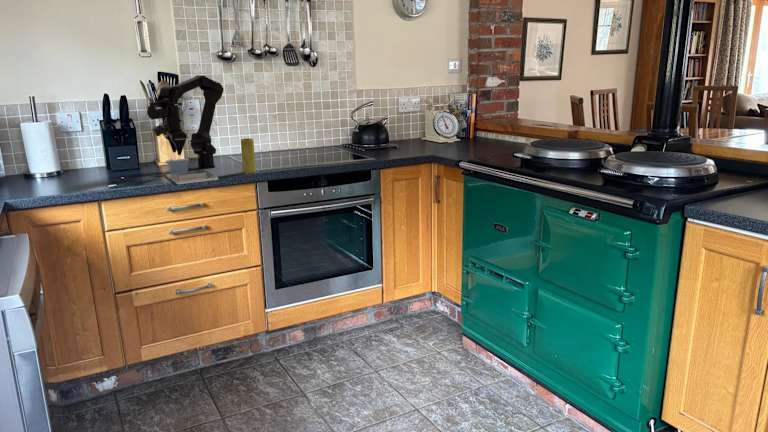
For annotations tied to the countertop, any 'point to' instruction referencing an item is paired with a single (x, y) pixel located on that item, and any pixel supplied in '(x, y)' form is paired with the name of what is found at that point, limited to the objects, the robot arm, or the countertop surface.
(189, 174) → the chassis plate
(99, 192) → the countertop surface
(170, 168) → the block
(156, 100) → the robot arm
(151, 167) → the countertop surface
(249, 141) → the vase
